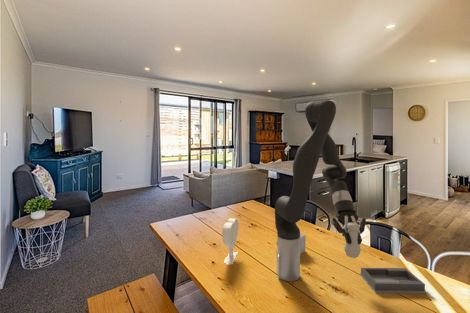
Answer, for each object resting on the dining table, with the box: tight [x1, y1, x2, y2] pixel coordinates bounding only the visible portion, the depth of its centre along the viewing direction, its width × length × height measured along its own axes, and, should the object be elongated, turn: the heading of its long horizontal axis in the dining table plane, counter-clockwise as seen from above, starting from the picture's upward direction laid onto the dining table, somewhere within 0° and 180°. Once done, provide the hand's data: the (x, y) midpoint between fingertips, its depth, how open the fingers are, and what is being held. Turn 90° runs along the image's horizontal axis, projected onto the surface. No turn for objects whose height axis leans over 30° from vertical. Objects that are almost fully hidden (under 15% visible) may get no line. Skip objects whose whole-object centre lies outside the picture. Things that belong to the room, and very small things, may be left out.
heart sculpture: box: [221, 217, 239, 265], centre depth 118 cm, size 16×5×18 cm, turn 165°
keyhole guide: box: [359, 267, 426, 295], centre depth 96 cm, size 18×12×3 cm, turn 87°
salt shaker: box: [343, 222, 362, 259], centre depth 95 cm, size 6×6×13 cm
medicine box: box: [300, 233, 307, 255], centre depth 122 cm, size 8×4×9 cm, turn 135°
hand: (354, 243), depth 94 cm, fingers closed on salt shaker, 3 cm apart
